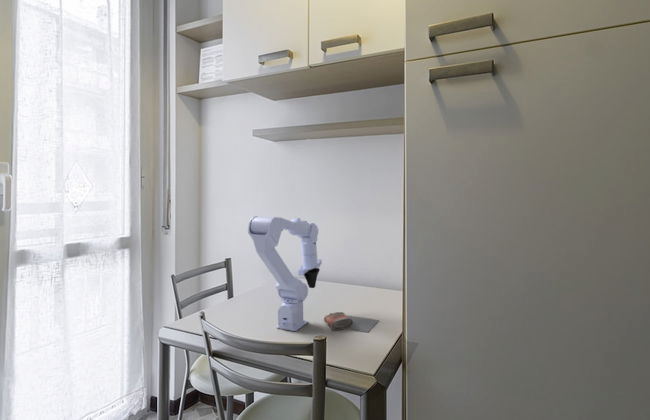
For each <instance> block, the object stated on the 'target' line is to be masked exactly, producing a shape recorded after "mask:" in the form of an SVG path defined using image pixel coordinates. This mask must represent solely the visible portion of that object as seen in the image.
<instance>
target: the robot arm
mask: <svg viewBox="0 0 650 420" xmlns="http://www.w3.org/2000/svg"><path fill="white" fill-rule="evenodd" d="M284 230H285V231H287V232H288V233H289V235H292V236H297V237H298V238H300V244H301V258H302V265H301V267H300V268H299V269H298V271H297V272H298V276H303V277H304V278H305V280H306V283H307V284H306V283H304V282H303V281H302V280H301V279H299V278H297V277H295V276H294V275H293V274H292V272H291V271H290V269H289V268H288V266H287V264H286V263H285V262H284V260H283V258H282V257H281V256H280V254H279V252H278V251H277V249H276V248H275V247H277V246H278V245H279V242H280V238H281V235H282V232H283V231H284ZM247 233H248V235H249V237H250V238H251V240H252V241H253V244H254V248H255V252H256V254H257V256H258V257H259V258H260V259H261V261H262V262H263V264H264V265H265V266H266V268H267V269H268V271H269V272H270V273H271V274H272V276H273V278H274V279H275V280H276V284H275V289H276V290H277V294H278V296H279V297H278V298H280V301H282V303H281V304H282V305H280V306H279V308H278V310H277V321H278V322H277V325H276V327H275V328H276V329H281V330H285V331H286V330H287V331H291V332H297V331H298V330H300V329H301V328H302V327H304V326H305V325H306V324H308V323H309V321H308V320H304V301H306V299H307V297H308V296H309V288H311V289H314V288H316V284H317V279H318V275H319V273H320V267H321V265H322V264H323V263H322V262H323V261H322V259H319V258H318V248H317V241H318V236H319V227H318V225H317V224H316V223H314V222H308V221H307V220H301V218H299V217H295V218H293V219H291V220H289V219H287V218H286V219H285V218H284V217H279V216H278V217H277V216H253V217H251V218H250V219H249V222H248V228H247Z"/></svg>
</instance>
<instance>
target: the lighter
mask: <svg viewBox="0 0 650 420" xmlns="http://www.w3.org/2000/svg"><path fill="white" fill-rule="evenodd" d="M346 315H347V314H345V313H344V312H342V311H340V312H339V311H338V312H333V313H332V312H331V313H330V312H329V314H326V315H324V318H323V321H324V323H326V324H327V325H328V326H329V327H330V328H331V329H332V330H333V331H335V330H337V331H338V330H344V329H345V328H348V327H350V326H352V324H353V320H352V319H351V318H348V317H347V316H346ZM345 330H346V329H345Z"/></svg>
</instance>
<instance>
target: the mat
mask: <svg viewBox="0 0 650 420" xmlns="http://www.w3.org/2000/svg"><path fill="white" fill-rule="evenodd" d="M345 315H346V316H347V317H348V318H351V319H352V320H353V324H352V326H350V327H348V328H345V330H351V331H356V332H361V333H369V332H371V330H372V329H373V328H374V327H375V326H376V325H377V324H378V322H380V320H379V319H374V318H367V317H360V316H354V315H348V314H345Z"/></svg>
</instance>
